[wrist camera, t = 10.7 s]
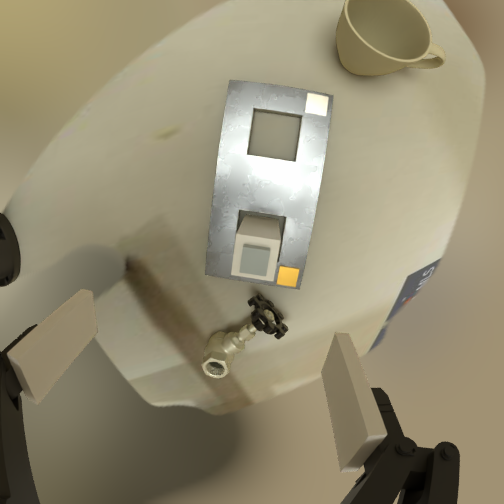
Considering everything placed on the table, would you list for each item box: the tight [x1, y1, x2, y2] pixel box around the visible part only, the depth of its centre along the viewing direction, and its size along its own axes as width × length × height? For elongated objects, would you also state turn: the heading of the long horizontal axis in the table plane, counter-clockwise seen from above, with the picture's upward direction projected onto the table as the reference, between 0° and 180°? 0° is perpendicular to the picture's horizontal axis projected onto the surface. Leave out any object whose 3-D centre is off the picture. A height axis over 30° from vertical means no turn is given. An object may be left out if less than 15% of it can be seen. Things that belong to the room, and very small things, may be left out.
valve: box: [201, 294, 288, 378], centre depth 37 cm, size 7×7×12 cm
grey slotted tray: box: [205, 80, 333, 289], centre depth 33 cm, size 12×24×2 cm, turn 172°
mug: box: [336, 0, 446, 76], centre depth 22 cm, size 11×10×12 cm
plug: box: [231, 214, 281, 281], centre depth 30 cm, size 4×4×11 cm
